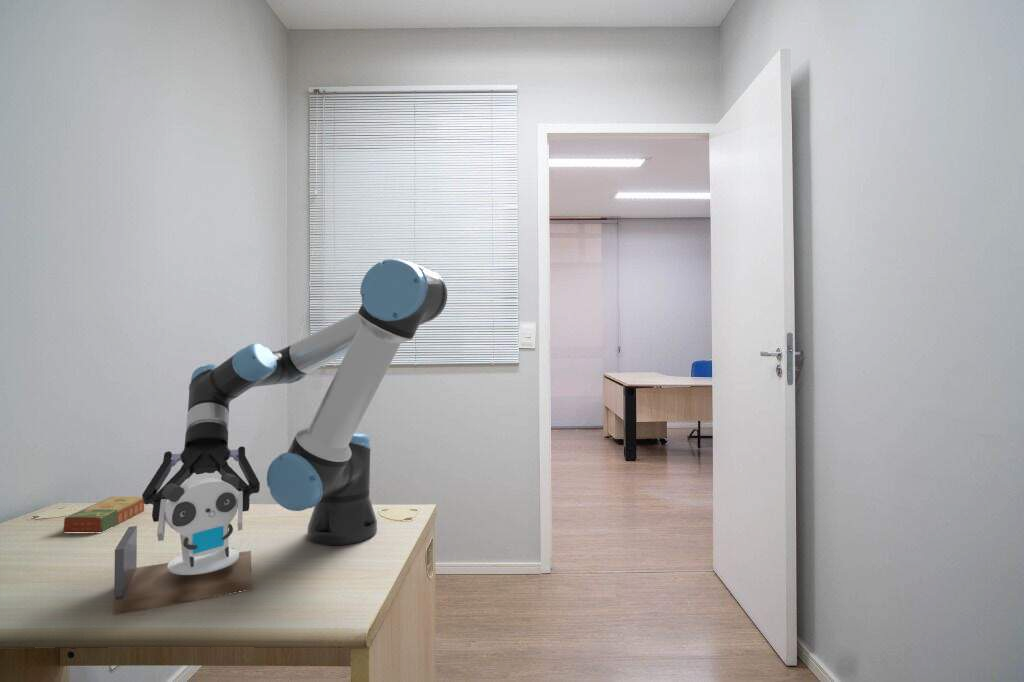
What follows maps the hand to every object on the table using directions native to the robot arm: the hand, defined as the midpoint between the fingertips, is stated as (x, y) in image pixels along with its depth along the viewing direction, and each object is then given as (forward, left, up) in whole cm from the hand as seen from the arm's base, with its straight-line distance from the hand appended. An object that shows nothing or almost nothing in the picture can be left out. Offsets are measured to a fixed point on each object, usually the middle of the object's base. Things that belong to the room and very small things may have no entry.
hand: (201, 531), depth 96 cm
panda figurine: (0, -3, -6) cm, 7 cm away
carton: (+23, -49, -11) cm, 55 cm away
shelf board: (+2, -3, -10) cm, 11 cm away
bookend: (+11, -3, -8) cm, 14 cm away
